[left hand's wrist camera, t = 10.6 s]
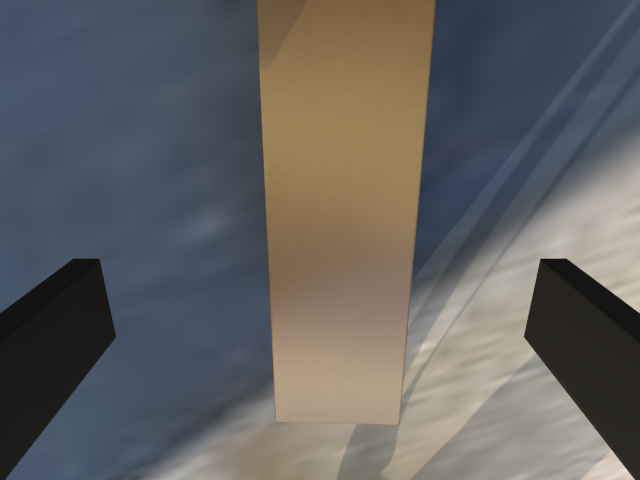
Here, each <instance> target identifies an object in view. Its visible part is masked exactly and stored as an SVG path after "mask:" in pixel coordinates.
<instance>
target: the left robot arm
mask: <svg viewBox="0 0 640 480" xmlns="http://www.w3.org/2000/svg"><path fill="white" fill-rule="evenodd" d="M115 338H116V335H115V330H114V325H113V320H112V316H111V311H110V306H109V302H108V297H107V292H106V288H105V283H104V278H103V274H102V269H101V264H100V259H73V260H71V261H70V262H69V263H67V264H66V265H64V266H63V267H62V268H60V269H59V270H58V271H56V272H55V273H54V274H52V275H51V276H50V277H48V278H47V279H46V280H44V281H43V282H42V283H40V284H39V285H38V286H36V287H35V288H34V289H32V290H31V291H30V292H28V293H27V294H26V295H24V296H23V297H22V298H20V299H19V300H18V301H16V302H15V303H14V304H12V305H11V306H10V307H8V308H7V309H6V310H4V311H3V312H2V313H0V480H5V479H6V478H7V476H8V475H9V474H10V473H11V471H12V470H13V469H14V467H15V466H16V465H17V464H18V462H19V461H20V460H21V458H22V457H23V456H24V455H25V453H26V452H27V451H28V449H29V448H30V447H31V446H32V444H33V443H34V442H35V440H36V439H37V438H38V437H39V435H40V434H41V433H42V431H43V430H44V429H45V428H46V426H47V425H48V424H49V422H50V421H51V420H52V419H53V417H54V416H55V415H56V413H57V412H58V411H59V410H60V408H61V407H62V406H63V404H64V403H65V402H66V401H67V399H68V398H69V397H70V395H71V394H72V393H73V392H74V390H75V389H76V388H77V386H78V385H79V384H80V383H81V381H82V380H83V379H84V377H85V376H86V375H87V374H88V372H89V371H90V370H91V368H92V367H93V366H94V365H95V363H96V362H97V361H98V359H99V358H100V357H101V356H102V354H103V353H104V352H105V351H106V349H107V348H108V347H109V345H110V344H111V343H112V342H113V340H114V339H115ZM524 338H525V339H526V340H527V342H528V343H529V344H530V345H531V347H532V348H533V349H534V351H535V352H536V353H537V354H538V356H539V357H540V358H541V360H542V361H543V362H544V363H545V365H546V366H547V367H548V368H549V370H550V371H551V372H552V374H553V375H554V376H555V377H556V379H557V380H558V381H559V383H560V384H561V385H562V386H563V388H564V389H565V390H566V392H567V393H568V394H569V395H570V397H571V398H572V399H573V401H574V402H575V403H576V404H577V406H578V407H579V408H580V410H581V411H582V412H583V413H584V415H585V416H586V417H587V419H588V420H589V421H590V422H591V424H592V425H593V426H594V428H595V429H596V430H597V431H598V433H599V434H600V435H601V437H602V438H603V439H604V440H605V442H606V443H607V444H608V446H609V447H610V448H611V449H612V451H613V452H614V453H615V455H616V456H617V457H618V458H619V460H620V461H621V462H622V464H623V465H624V466H625V467H626V469H627V470H628V471H629V473H630V474H631V475H632V476H633V478H634V479H635V480H640V313H638V312H637V311H636V310H634V309H633V308H632V307H630V306H629V305H628V304H626V303H625V302H624V301H622V300H621V299H620V298H618V297H617V296H616V295H614V294H613V293H612V292H610V291H609V290H608V289H606V288H605V287H604V286H602V285H601V284H600V283H598V282H597V281H596V280H594V279H593V278H592V277H590V276H589V275H588V274H586V273H585V272H584V271H582V270H581V269H580V268H578V267H577V266H576V265H574V264H573V263H571V262H570V261H569V260H567V259H540V264H539V269H538V273H537V278H536V283H535V288H534V292H533V297H532V302H531V306H530V311H529V316H528V320H527V325H526V330H525V335H524Z"/></svg>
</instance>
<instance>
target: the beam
mask: <svg viewBox="0 0 640 480" xmlns="http://www.w3.org/2000/svg"><path fill="white" fill-rule="evenodd" d="M256 7H257V29H258V50H259V72H260V93H261V114H262V136H263V157H264V179H265V200H266V221H267V243H268V264H269V286H270V307H271V328H272V350H273V371H274V392H275V414H276V421H277V422H302V423H340V424H378V425H399V423H400V411H401V400H402V388H403V377H404V365H405V354H406V342H407V331H408V319H409V308H410V296H411V285H412V273H413V262H414V250H415V239H416V228H417V216H418V205H419V193H420V182H421V170H422V159H423V147H424V136H425V124H426V113H427V101H428V90H429V78H430V67H431V56H432V44H433V33H434V21H435V10H436V0H256Z"/></svg>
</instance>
